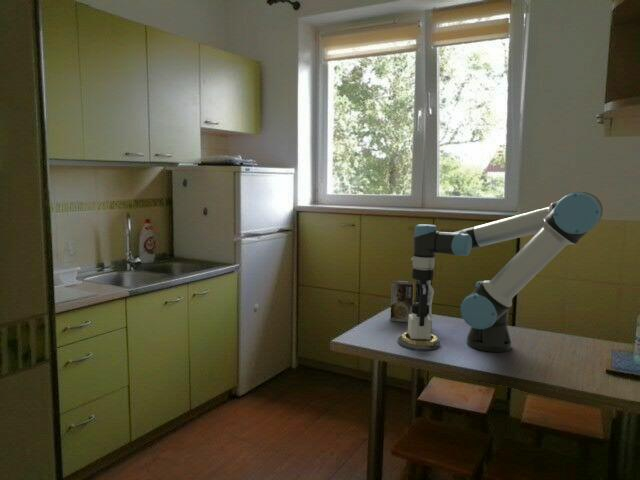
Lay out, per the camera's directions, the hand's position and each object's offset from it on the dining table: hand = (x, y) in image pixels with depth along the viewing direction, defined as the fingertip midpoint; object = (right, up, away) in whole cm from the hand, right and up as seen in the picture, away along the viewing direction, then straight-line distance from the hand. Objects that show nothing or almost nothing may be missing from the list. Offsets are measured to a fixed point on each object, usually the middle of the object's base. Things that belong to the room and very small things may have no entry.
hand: (419, 330), depth 176 cm
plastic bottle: (+6, -3, +20) cm, 21 cm away
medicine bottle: (0, -2, 0) cm, 2 cm away
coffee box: (-2, -1, +30) cm, 30 cm away
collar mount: (0, -5, +1) cm, 5 cm away
